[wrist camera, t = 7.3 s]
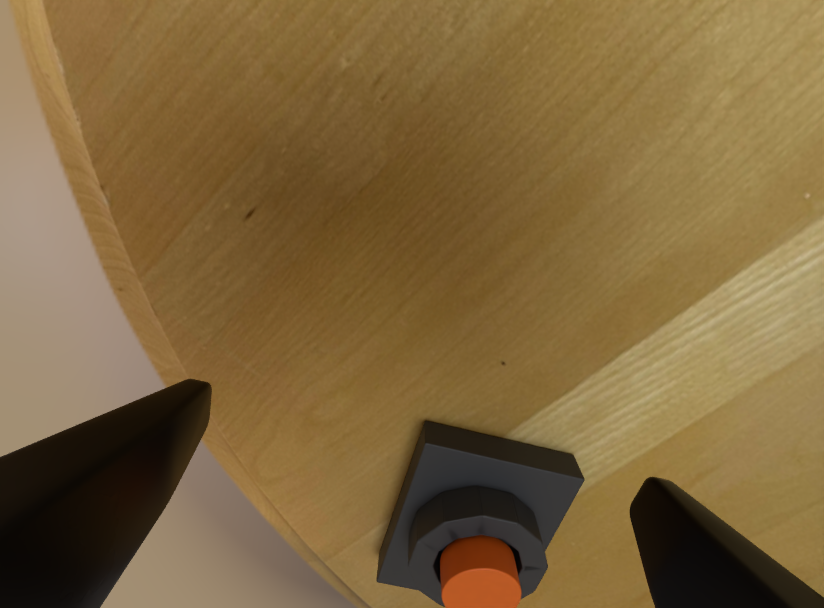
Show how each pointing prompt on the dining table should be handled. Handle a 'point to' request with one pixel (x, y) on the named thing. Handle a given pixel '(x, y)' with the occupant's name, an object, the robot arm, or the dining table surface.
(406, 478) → the button box
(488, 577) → the button
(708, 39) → the dining table surface
